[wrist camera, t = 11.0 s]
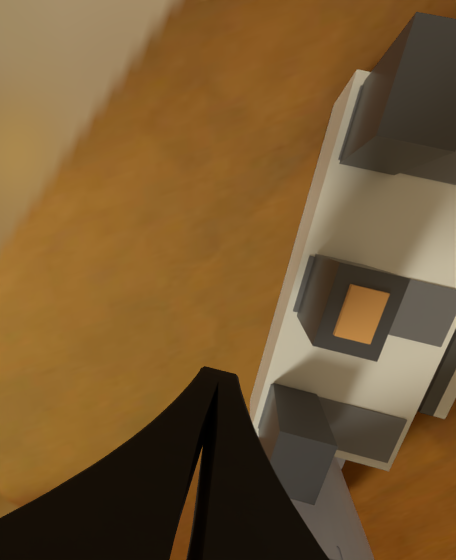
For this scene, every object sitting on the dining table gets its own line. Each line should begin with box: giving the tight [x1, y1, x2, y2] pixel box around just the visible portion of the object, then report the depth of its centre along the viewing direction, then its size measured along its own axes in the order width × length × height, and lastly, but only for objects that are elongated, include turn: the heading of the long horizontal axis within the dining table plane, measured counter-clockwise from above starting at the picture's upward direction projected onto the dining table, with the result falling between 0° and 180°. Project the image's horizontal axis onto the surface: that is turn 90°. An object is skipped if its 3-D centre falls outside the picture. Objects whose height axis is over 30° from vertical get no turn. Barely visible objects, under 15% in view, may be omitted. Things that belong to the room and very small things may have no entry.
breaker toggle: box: [297, 254, 411, 362], centre depth 12 cm, size 4×3×4 cm
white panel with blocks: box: [250, 12, 456, 505], centre depth 14 cm, size 23×10×8 cm, turn 167°
